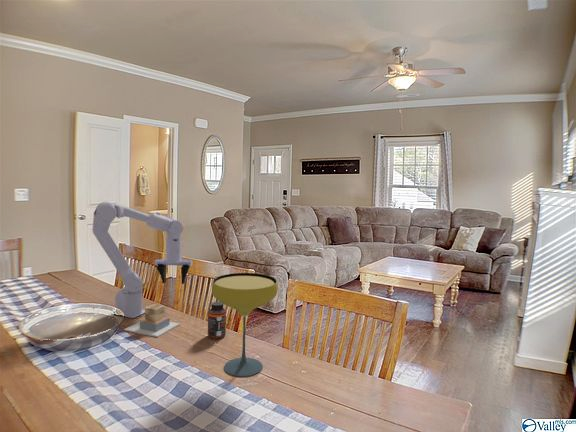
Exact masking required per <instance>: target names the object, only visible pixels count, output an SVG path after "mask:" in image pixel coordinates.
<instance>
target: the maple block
mask: <svg viewBox="0 0 576 432" xmlns="http://www.w3.org/2000/svg"><path fill="white" fill-rule="evenodd" d="M144 310H145V313H144V319H145V321H150V322H155V323H156V322H158V321H160V320H162V319H164V317H165V305H163V304H162V305H160V304H156V303H155V304H154V303H153V304H151V305H149V306H145V308H144Z"/></svg>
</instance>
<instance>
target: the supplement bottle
mask: <svg viewBox="0 0 576 432" xmlns="http://www.w3.org/2000/svg"><path fill="white" fill-rule="evenodd" d="M210 304H211V306H210V307H211V308H209V310H208V311H207V317H208V318H207V319H208V320H207V336H208V337H209V338H210V339H214V340H215V339H216V340H217V339H223V338H224V337H225V336H226V333H227V330H226V329H227V328H226V327H227V325H226V324H227V310H226V308H225V307H224V304H222V303H220V302H219V301H213V302H211V303H210Z"/></svg>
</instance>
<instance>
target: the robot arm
mask: <svg viewBox="0 0 576 432" xmlns="http://www.w3.org/2000/svg"><path fill="white" fill-rule="evenodd" d="M115 218H117V219H121V218H130V219H133V220H136V221H140V222H143V223H146V225H147V227H148V228H152V229H154V230H157V231H160V232H161V231H162V232H166V241H165V242H166V243H165V244H166V248H165V249H166V250H165V254H166V255H165V257H166V258H165V259H155V260H154V266H156V270H157V271H158V273H159V275H160V278H161V283H162V284H166V282H167V266H181V267H180V271H181V285H184V284H185V283H186V278H187V275H188V272H189V271H190V268H191V267H192V266H193V260H190V259H189V260H188V259H187V260H186V259H182V233H183V231H184V226H183V224H182V223H181V221H180V220H176V219H174V218H173V217H171V216H168V217H167V216H164V215H162V214H161V213H160V212H156V213H155V212H152V213H150V214H147V213H144V212H142V211H139V210H136V209H134V208H131V207H128V206H125V205H122V204H117V203H113V204H112V203H110V202H108V201H107V202H105V201H104V202H101V203H99V204H98V205H97V206H96V207H95V210H94V211H93V220H92V221H93V222H92V229H91V230H92V233H93V235H94V236H95V238H96V240H97V242H98V243H99V244H100V246H101V248H102V249H103V251H104V252H105V254H106V255H107V257H108V258H109V260H110V262H111V263H112V264H113V266H114V267H115V269H116V270H117V273H118V274H119V275H120V277H121V283H122V285H124V287H123V288H122V289H120V290H118V291H117V293H116V294H115V303H114V304H115V308H118V309H120V310H121V311H122V312H123V313H124V315H125V318H131V319H135V318H137V317H140V316H141V315H145V309H143V287H144V286H143V285H144V282H143V280H142V278H140V275H139V273H137V272H135V271H134V270H133V269H132V268H131V265H129V263H128V261H127V259H126V258H125V256H124V255H123V253H122V252H121V249H120V248H119V247H118V245H117V243H116V242H115V240H114V238H113V237H112V236H111V234H110V232H109V228H110V226H111V223H112V222H113V221H114V220H115Z"/></svg>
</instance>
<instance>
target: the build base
mask: <svg viewBox="0 0 576 432" xmlns="http://www.w3.org/2000/svg"><path fill="white" fill-rule="evenodd" d="M170 320H171V319H170V317H166V316H164V319H162V320H160V321H158V322H156V323H155V322H150V321H145V318H144V319H142V320H140V321H138V322H136V323H134V324H132V325H130V326H128V327H126V328H124V329H123V331H125V332H130V333H135V334H139V335H144V336H149V337H153V338H160V337H161V336H163V335H165V334H166V333H168V332H171V331H172V330H173V329H175V328H176V327H177V328H178V327H179V326H180V324H181V323H179V322H173V321H170Z"/></svg>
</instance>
